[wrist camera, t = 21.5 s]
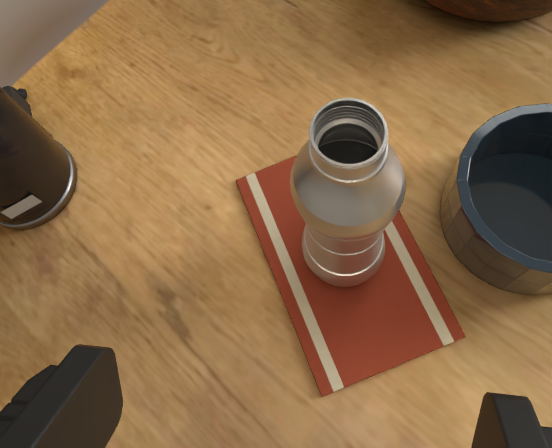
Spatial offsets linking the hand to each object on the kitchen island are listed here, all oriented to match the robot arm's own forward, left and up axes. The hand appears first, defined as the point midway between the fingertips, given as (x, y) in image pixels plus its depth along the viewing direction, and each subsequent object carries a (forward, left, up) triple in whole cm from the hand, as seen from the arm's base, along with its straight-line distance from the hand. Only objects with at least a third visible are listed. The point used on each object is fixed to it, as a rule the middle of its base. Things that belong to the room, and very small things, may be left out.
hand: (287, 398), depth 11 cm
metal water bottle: (-10, +6, -29) cm, 31 cm away
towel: (-10, +6, -29) cm, 31 cm away
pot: (-7, +21, -29) cm, 37 cm away
